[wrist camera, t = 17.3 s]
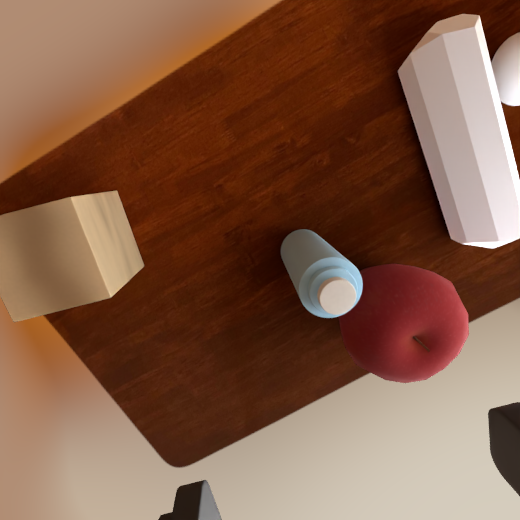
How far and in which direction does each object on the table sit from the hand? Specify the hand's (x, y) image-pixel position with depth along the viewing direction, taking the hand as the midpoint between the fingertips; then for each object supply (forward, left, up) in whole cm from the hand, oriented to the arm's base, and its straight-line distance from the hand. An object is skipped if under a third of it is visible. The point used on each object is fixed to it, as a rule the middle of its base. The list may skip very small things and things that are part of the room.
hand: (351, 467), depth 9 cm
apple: (+11, -10, -30) cm, 34 cm away
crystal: (+23, +5, -30) cm, 38 cm away
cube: (-19, +5, -30) cm, 36 cm away
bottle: (+4, -2, -30) cm, 30 cm away
